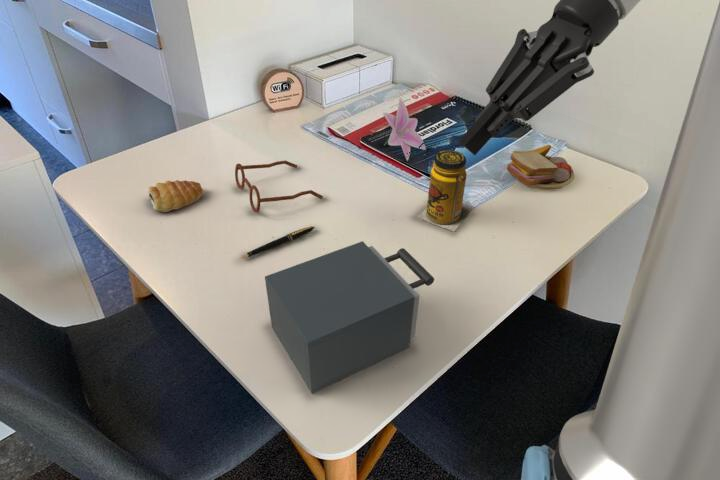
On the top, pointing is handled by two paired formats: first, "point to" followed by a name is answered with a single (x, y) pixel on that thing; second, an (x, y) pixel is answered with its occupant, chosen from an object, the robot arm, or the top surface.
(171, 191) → the pastry
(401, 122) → the lily
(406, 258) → the drawer
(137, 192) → the top surface
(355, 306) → the cabinet
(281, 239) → the fountain pen
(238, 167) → the glasses
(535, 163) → the toy sandwich meal
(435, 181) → the condiment
